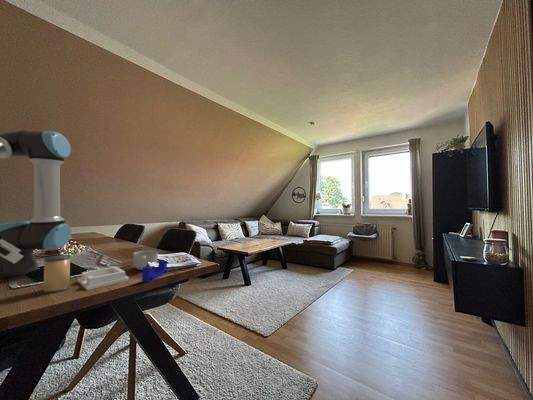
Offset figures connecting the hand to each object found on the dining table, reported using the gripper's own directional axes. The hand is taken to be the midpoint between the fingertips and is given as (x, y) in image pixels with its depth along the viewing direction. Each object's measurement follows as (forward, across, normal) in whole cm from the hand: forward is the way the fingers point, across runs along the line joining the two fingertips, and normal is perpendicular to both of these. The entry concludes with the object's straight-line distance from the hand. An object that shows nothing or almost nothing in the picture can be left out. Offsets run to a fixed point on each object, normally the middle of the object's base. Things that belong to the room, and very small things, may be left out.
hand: (18, 256), depth 76 cm
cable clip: (+38, +12, +18) cm, 44 cm away
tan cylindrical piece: (+17, 0, -3) cm, 17 cm away
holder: (+27, +2, +7) cm, 28 cm away
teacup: (+40, -4, +20) cm, 44 cm away
